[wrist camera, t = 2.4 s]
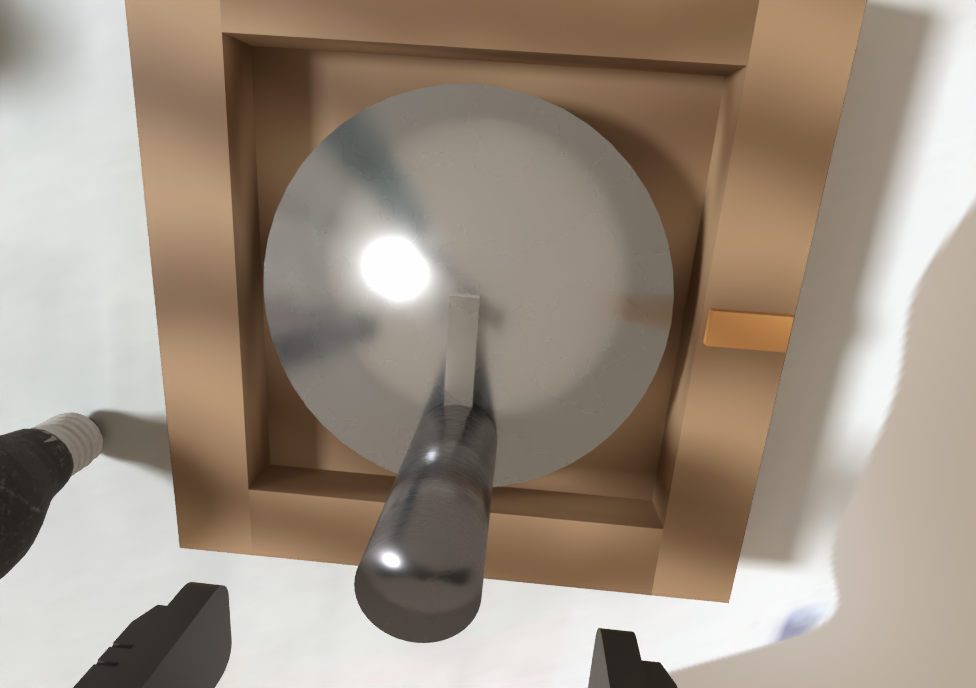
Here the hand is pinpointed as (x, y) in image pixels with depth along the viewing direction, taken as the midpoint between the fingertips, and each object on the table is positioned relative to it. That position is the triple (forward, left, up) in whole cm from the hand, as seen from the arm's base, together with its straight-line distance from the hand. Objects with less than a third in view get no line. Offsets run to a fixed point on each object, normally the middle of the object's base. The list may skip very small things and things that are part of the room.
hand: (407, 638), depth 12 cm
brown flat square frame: (-5, 0, -13) cm, 14 cm away
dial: (-5, 0, -11) cm, 12 cm away
